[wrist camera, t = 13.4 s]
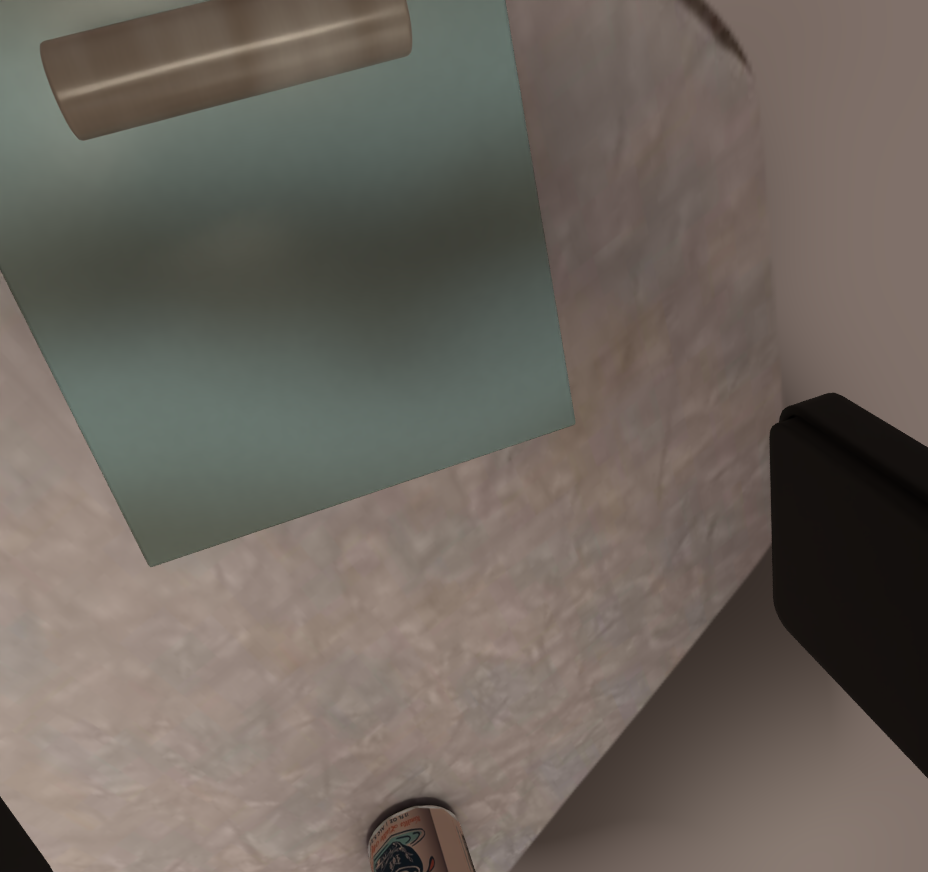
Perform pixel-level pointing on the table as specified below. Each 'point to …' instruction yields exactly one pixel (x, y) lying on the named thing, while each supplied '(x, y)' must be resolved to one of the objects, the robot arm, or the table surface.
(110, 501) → the table surface
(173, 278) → the lid
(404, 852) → the beer can
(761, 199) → the table surface
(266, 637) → the table surface
